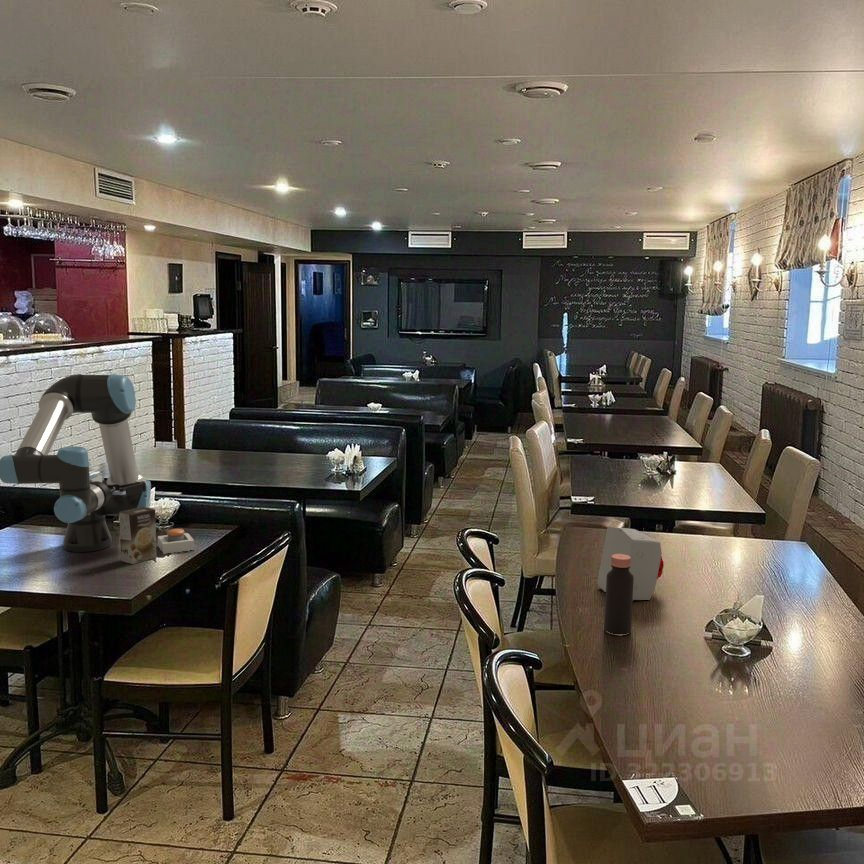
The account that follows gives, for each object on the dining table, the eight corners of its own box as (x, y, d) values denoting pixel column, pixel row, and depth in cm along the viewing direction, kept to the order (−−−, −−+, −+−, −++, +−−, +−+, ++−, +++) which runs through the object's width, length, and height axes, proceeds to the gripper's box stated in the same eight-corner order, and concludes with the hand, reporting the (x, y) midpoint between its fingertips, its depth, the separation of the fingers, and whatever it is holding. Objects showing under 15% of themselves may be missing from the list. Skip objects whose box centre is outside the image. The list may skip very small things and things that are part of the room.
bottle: (605, 625, 225) (608, 551, 222) (631, 628, 223) (635, 554, 220) (602, 634, 219) (606, 559, 215) (629, 638, 217) (633, 561, 214)
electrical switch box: (666, 607, 245) (679, 539, 243) (620, 604, 240) (633, 535, 238) (639, 590, 259) (652, 526, 257) (596, 587, 254) (608, 522, 252)
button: (165, 545, 287) (165, 529, 287) (182, 543, 290) (182, 528, 289) (169, 549, 282) (168, 534, 282) (186, 547, 285) (185, 532, 284)
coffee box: (132, 564, 269) (130, 514, 266) (120, 561, 272) (118, 511, 270) (157, 557, 276) (155, 509, 274) (144, 554, 280) (142, 506, 277)
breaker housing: (158, 546, 288) (157, 536, 288) (188, 542, 293) (188, 532, 292) (163, 554, 280) (163, 544, 279) (194, 550, 284) (194, 540, 284)
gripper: (49, 508, 240) (83, 491, 261) (136, 511, 239) (163, 493, 260) (47, 482, 239) (81, 467, 260) (135, 485, 238) (162, 469, 259)
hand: (122, 480), depth 260 cm, fingers open, 13 cm apart
